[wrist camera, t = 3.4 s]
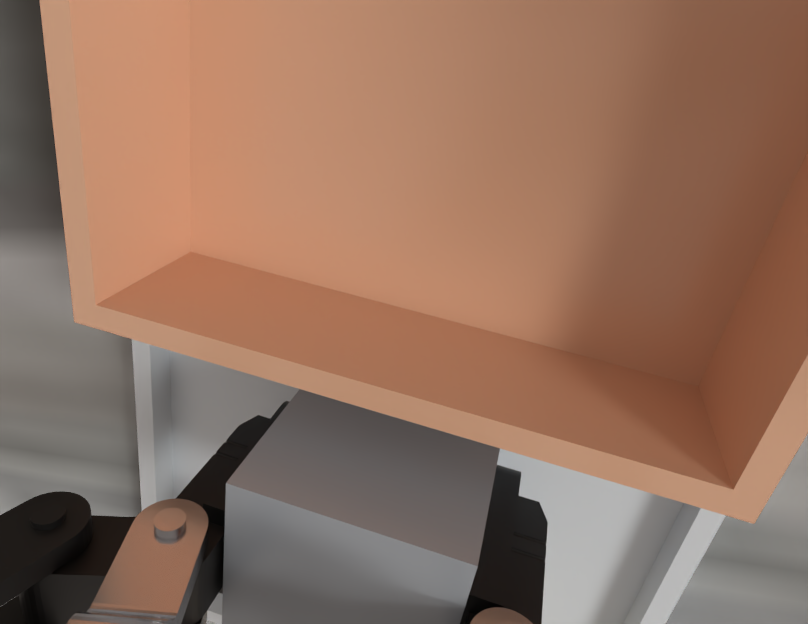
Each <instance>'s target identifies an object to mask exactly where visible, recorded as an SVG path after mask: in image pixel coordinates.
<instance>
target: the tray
mask: <svg viewBox="0 0 808 624" xmlns="http://www.w3.org/2000/svg"><path fill="white" fill-rule="evenodd" d="M132 353H133V370H134V387H135V405H136V422H137V439H138V456H139V473H140V490H141V507H142V511H143V510H144V509H145V508H147V507H148V506H150V505H152V504H154V503H156V502H159V501H162V500H167V499H175V498H176V497H177V496H178V495H179V494H180V493H181V492H182V491H183V489H184V488H185V487H186V486H187V485H188V484H189V483H190V481H191V480H192V479H193V478H194V477H195V476H196V474H197V473H198V472H199V471H200V470H201V469H202V468H203V466H204V465H205V464H206V463H207V462H208V461H209V459H210V458H211V457H212V456H213V455H215V454H216V452H217V450H218V449H219V448H220V447H221V446H222V444H223V443H224V442H225V443H226V441H227V439H228V438H229V436H230V435H231V434H232V433H233V432H234V431H235V429H236V428H237V427H238V426H239V425H240V424H242V423H244V422H246V421H248V420H250V419H252V418H253V417H255V416H257V415H260V416H263V417H267V418H271V417H272V416H273V415H274V413H275V412H276V411H277V410H278V408H279V407H280V406H281V405H282V404H283V402H285V401H289V402H290V401H291V399H292V398H293V397H294V396H295V394H296V393H297V392H298V391H299V389H298V388H295V387H291V386H288V385H285V384H281V383H278V382H274V381H271V380H268V379H264V378H261V377H258V376H254V375H251V374H248V373H244V372H241V371H237V370H234V369H231V368H227V367H224V366H221V365H217V364H214V363H210V362H207V361H204V360H200V359H197V358H194V357H190V356H187V355H183V354H180V353H177V352H173V351H170V350H167V349H163V348H160V347H157V346H153V345H150V344H146V343H143V342H140V341H136V340H133V339H132ZM497 465H500V466H504V467H507V468H510V469H514V470H517V471H520V472H521V480H520V488H519V496H521V497H525V498H528V499H531V500H534V501H538V502H540V505H541V507H542V510H543V512H544V514H545V517H546V519H547V522H548V527H547V542H546V558H545V575H544V591H543V607H542V624H666V622H667V620H668V618H669V617H670V615H671V613H672V611H673V609H674V608H675V606H676V604H677V602H678V600H679V599H680V597H681V595H682V593H683V592H684V590H685V588H686V586H687V584H688V583H689V581H690V579H691V577H692V575H693V574H694V572H695V570H696V568H697V566H698V565H699V563H700V561H701V559H702V557H703V556H704V554H705V552H706V550H707V549H708V547H709V545H710V543H711V541H712V540H713V538H714V536H715V534H716V532H717V531H718V529H719V527H720V525H721V523H722V522H723V520H724V518H725V516H726V515H723V514H719V513H716V512H712V511H709V510H706V509H702V508H699V507H696V506H692V505H689V504H686V503H682V502H679V501H675V500H672V499H669V498H665V497H662V496H659V495H655V494H652V493H648V492H645V491H642V490H638V489H635V488H632V487H628V486H625V485H622V484H618V483H615V482H611V481H608V480H605V479H601V478H598V477H595V476H591V475H588V474H584V473H581V472H578V471H574V470H571V469H568V468H564V467H561V466H557V465H554V464H551V463H547V462H544V461H541V460H537V459H534V458H531V457H527V456H524V455H520V454H517V453H514V452H510V451H507V450H504V449H500V451H499V456H498V462H497ZM222 599H223V594H221V593H218V595H217V596H216V598H215V599H214V601H213V602H212V604H211V605H210V607H209V609H208V610H207V620H208V621H210V622H213V623H216V624H222Z"/></svg>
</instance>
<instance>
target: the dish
mask: <svg viewBox="0 0 808 624" xmlns="http://www.w3.org/2000/svg"><path fill="white" fill-rule="evenodd" d="M40 10H41V19H42V28H43V37H44V47H45V56H46V65H47V75H48V84H49V93H50V102H51V112H52V121H53V130H54V139H55V149H56V158H57V167H58V177H59V186H60V195H61V204H62V214H63V223H64V232H65V241H66V251H67V260H68V269H69V279H70V288H71V297H72V306H73V316H74V322H76V323H79V324H82V325H86V326H89V327H93V328H96V329H99V330H103V331H106V332H109V333H113V334H116V335H119V336H123V337H126V338H130V339H133V340H136V341H140V342H143V343H146V344H150V345H153V346H157V347H160V348H163V349H167V350H170V351H173V352H177V353H180V354H183V355H187V356H190V357H194V358H197V359H200V360H204V361H207V362H210V363H214V364H217V365H221V366H224V367H227V368H231V369H234V370H237V371H241V372H244V373H248V374H251V375H254V376H258V377H261V378H264V379H268V380H271V381H274V382H278V383H281V384H285V385H288V386H291V387H295V388H298V389H301V390H305V391H308V392H312V393H315V394H318V395H322V396H325V397H328V398H332V399H335V400H338V401H342V402H345V403H349V404H352V405H355V406H359V407H362V408H365V409H369V410H372V411H376V412H379V413H382V414H386V415H389V416H392V417H396V418H399V419H403V420H406V421H409V422H413V423H416V424H419V425H423V426H426V427H429V428H433V429H436V430H440V431H443V432H446V433H450V434H453V435H456V436H460V437H463V438H467V439H470V440H473V441H477V442H480V443H483V444H487V445H490V446H493V447H497V448H500V449H504V450H507V451H510V452H514V453H517V454H520V455H524V456H527V457H531V458H534V459H537V460H541V461H544V462H547V463H551V464H554V465H557V466H561V467H564V468H568V469H571V470H574V471H578V472H581V473H584V474H588V475H591V476H595V477H598V478H601V479H605V480H608V481H611V482H615V483H618V484H622V485H625V486H628V487H632V488H635V489H638V490H642V491H645V492H648V493H652V494H655V495H659V496H662V497H665V498H669V499H672V500H675V501H679V502H682V503H686V504H689V505H692V506H696V507H699V508H702V509H706V510H709V511H712V512H716V513H719V514H723V515H726V516H729V517H733V518H736V519H739V520H743V521H746V522H750V523H753V524H754V523H755V522H756V520H757V518H758V517H759V515H760V513H761V512H762V510H763V508H764V506H765V505H766V503H767V501H768V500H769V498H770V496H771V495H772V493H773V491H774V490H775V488H776V486H777V485H778V483H779V481H780V479H781V478H782V476H783V474H784V473H785V471H786V469H787V468H788V466H789V464H790V463H791V461H792V459H793V458H794V456H795V454H796V452H797V451H798V449H799V447H800V446H801V444H802V442H803V441H804V439H805V437H806V436H807V434H808V0H40Z"/></svg>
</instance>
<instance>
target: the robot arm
mask: <svg viewBox="0 0 808 624" xmlns="http://www.w3.org/2000/svg"><path fill="white" fill-rule="evenodd" d="M288 403H289V401H285V402H283V404H282V405H281V406H280V407H279V408H278V410H277V411H276V412H275V413H274V415H273V416H272V417H271V418H267V417H263V416H260V415H257V416H255V417H253V418H252V419H250V420H248V421H246V422H244V423H242V424H240V425H239V426H238V427H237V428H236V429H235V431H234V432H233V433H232V434H231V435H230V436H229V438H228V439H227V441H226V443H225V442H224V443H223V444H222V446H221V447H220V448H219V449H218V450H217V452H216V454H215V455H213V456H212V457H211V458H210V459H209V461H208V462H207V463H206V464H205V465H204V466H203V468H202V469H201V470H200V471H199V472H198V473H197V474H196V476H195V477H194V478H193V479H192V480H191V481H190V483H189V484H188V485H187V486H186V487H185V488H184V489H183V491H182V492H181V493H180V494H179V495H178V496H177V497H176V498H175V499H167V500H162V501H159V502H156V503H154V504H152V505H150V506H148V507H147V508H145V509H144V510H143V511H141V512H140V513H139V514H138V515H137V516H136V517H113V516H91V509H90V505H89V503H88V502H87V500H86V499H85V498H83V497H82V496H80V495H78V494H75V493H71V492H52V493H46V494H42V495H39V496H37V497H34V498H32V499H30V500H28V501H26V502H24V503H22V504H20V505H18V506H17V507H15V508H13V509H11V510H9V511H7V512H6V513H4V514H2V515H0V606H1V607H0V624H206V620H207V610H208V609H209V607H210V605H211V604H212V602H213V601H214V599H215V598H216V596H217V595H218V593H221V594H223V565H224V530H225V496H226V482H227V481H228V480H229V478H230V477H231V476H232V475H233V473H234V472H235V471H236V470H237V468H238V467H239V466H240V464H241V463H242V462H243V461H244V459H245V458H246V457H247V455H248V454H249V453H250V452H251V450H252V449H253V448H254V447H255V445H256V444H257V443H258V441H259V440H260V439H261V438H262V436H263V435H264V434H265V433H266V431H267V430H268V429H269V427H270V426H271V425H272V424H273V422H274V421H275V420H276V419H277V417H278V416H279V415H280V413H281V412H282V411H283V410H284V408H285V407H286V406H287V405H288ZM520 480H521V472H520V471H517V470H514V469H510V468H507V467H504V466H500V465H497V467H496V472H495V478H494V483H493V488H492V493H491V499H490V504H489V509H488V515H487V520H486V525H485V531H484V536H483V541H482V547H481V552H480V557H479V563H478V567H477V571H476V574H475V577H474V580H473V583H472V587H471V590H470V593H469V596H468V599H467V603H466V606H465V609H464V612H463V615H462V619H461V622H460V624H542V607H543V591H544V575H545V558H546V542H547V527H548V522H547V519H546V517H545V514H544V512H543V510H542V507H541V505H540V502H538V501H534V500H531V499H528V498H525V497H521V496H519V488H520ZM17 595H18V596H17ZM14 597H15V598H14ZM11 599H12V600H11ZM9 600H10V601H9ZM8 601H9V602H8ZM6 602H7V603H6ZM5 603H6V604H5ZM3 604H4V605H3ZM2 605H3V606H2Z"/></svg>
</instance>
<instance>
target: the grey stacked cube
mask: <svg viewBox="0 0 808 624" xmlns="http://www.w3.org/2000/svg"><path fill="white" fill-rule="evenodd" d="M499 451H500V448H497V447H493V446H490V445H487V444H483V443H480V442H477V441H473V440H470V439H467V438H463V437H460V436H456V435H453V434H450V433H446V432H443V431H440V430H436V429H433V428H429V427H426V426H423V425H419V424H416V423H413V422H409V421H406V420H403V419H399V418H396V417H392V416H389V415H386V414H382V413H379V412H376V411H372V410H369V409H365V408H362V407H359V406H355V405H352V404H349V403H345V402H342V401H338V400H335V399H332V398H328V397H325V396H322V395H318V394H315V393H312V392H308V391H305V390H301V389H299V391H298V392H297V393H296V394H295V396H294V397H293V398H292V399H291V401H290V402H289V403H288V405H287V406H286V407H285V408H284V410H283V411H282V412H281V413H280V415H279V416H278V417H277V419H276V420H275V421H274V422H273V424H272V425H271V426H270V427H269V429H268V430H267V431H266V433H265V434H264V435H263V436H262V438H261V439H260V440H259V441H258V443H257V444H256V445H255V447H254V448H253V449H252V450H251V452H250V453H249V454H248V455H247V457H246V458H245V459H244V461H243V462H242V463H241V464H240V466H239V467H238V468H237V470H236V471H235V472H234V473H233V475H232V476H231V477H230V478H229V480H228V481H227V482H226V496H225V530H224V565H223V599H222V624H460V622H461V619H462V615H463V612H464V609H465V606H466V603H467V599H468V596H469V593H470V590H471V587H472V583H473V580H474V577H475V574H476V571H477V567H478V563H479V557H480V552H481V547H482V541H483V536H484V531H485V525H486V520H487V515H488V509H489V504H490V499H491V493H492V488H493V483H494V478H495V472H496V467H497V462H498V456H499Z"/></svg>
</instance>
